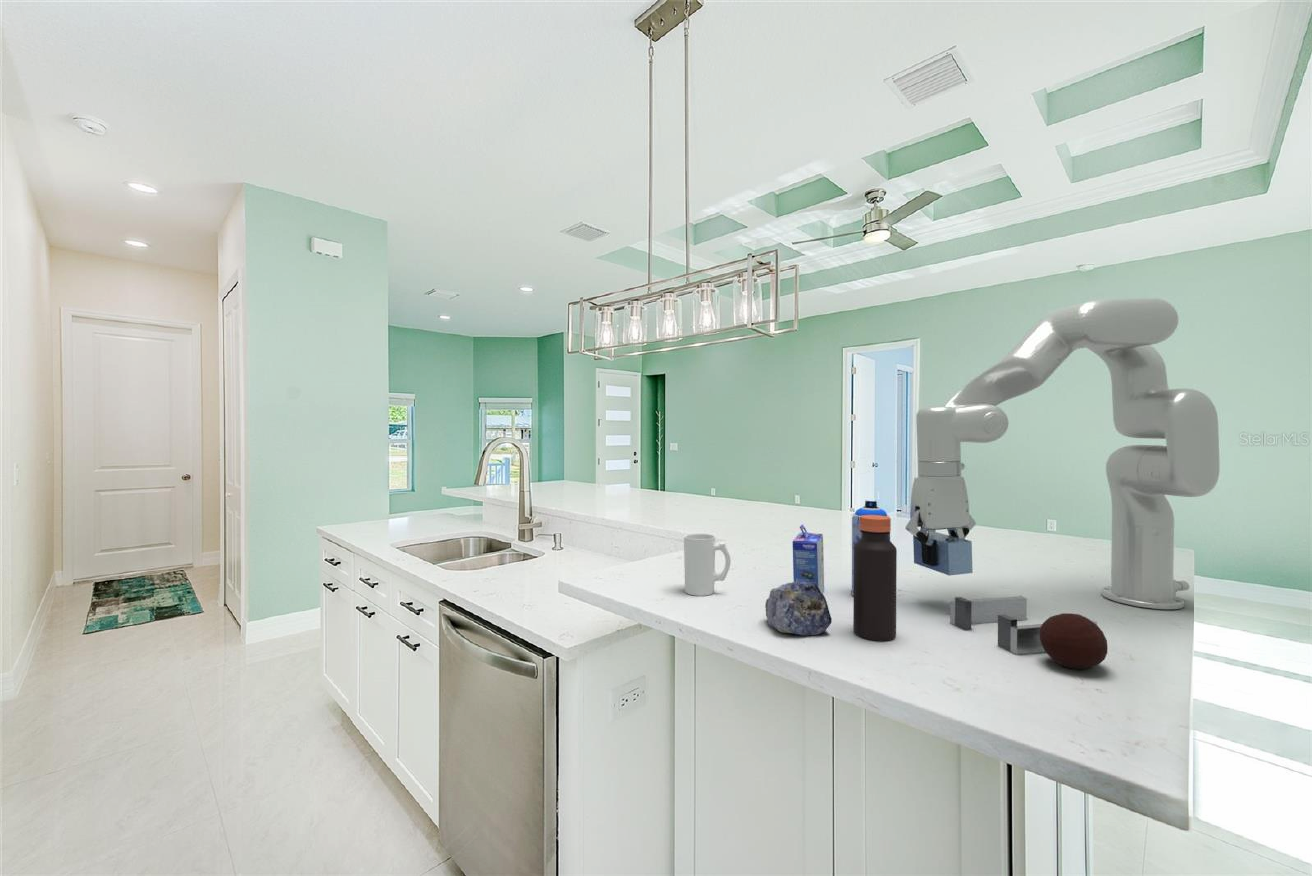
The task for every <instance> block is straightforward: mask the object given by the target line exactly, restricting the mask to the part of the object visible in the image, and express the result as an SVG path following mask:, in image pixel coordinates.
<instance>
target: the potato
mask: <svg viewBox="0 0 1312 876" xmlns="http://www.w3.org/2000/svg"><path fill="white" fill-rule="evenodd" d="M1092 621H1093V620H1091V619H1089V618H1088V617H1086V616H1084V615H1081V614H1080V613H1070V612H1069V613H1067V612H1066V613H1059V614H1055V615H1052V616H1049V617H1048V618H1047V619H1046V620H1045V621H1044V622H1042V623H1041V624H1042V625H1041V628H1040V631H1039V635H1040V641H1041V644H1042V646H1043V648H1044V650H1045V652H1044V653H1046V654H1047V655H1048V656H1049V657H1050V659H1052V660H1053V661H1055V662H1056V663H1058V664H1060V665H1062V666H1065V667H1067V668H1070V669H1075V670H1076V669H1077V670H1089V669H1092V668H1094V667H1096V666H1098V665H1100V664H1101V663H1103V662H1104V661H1105V659H1106V657H1107V655H1108V650H1109V649H1108V648H1109V647H1108V640H1107V638H1106V636H1105V632H1103V630H1102V629H1101V628H1100V627H1099V626H1098V624H1097V625H1096V624H1095V623H1094V622H1095V621H1094V622H1092Z"/></svg>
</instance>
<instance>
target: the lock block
mask: <svg viewBox="0 0 1312 876" xmlns="http://www.w3.org/2000/svg"><path fill="white" fill-rule="evenodd" d="M927 533H928V531H927ZM926 536H927V535H926ZM912 542H913V543H912V544H913V564H916V565H918V566H921V567H924V568H927V569H929V570H932V571H935V572H939V573H941V574H943V575H947V576H948V577H949V576H956V575H958V576H959V575H966V574H973V572H974V571H973V569H974V568H973V546H972V544H973V543H972V540H970V539H969V540H968V539H966V538H965V539H961V538H957V537H953V536H949V534H945V533H941V532H936V531H935V536H934V540H933V544H932V545H935V547H936V566H930V565H927V564H924V563H923V562H922V549H921V543H919V542H918V540H917V539H916V538H915V537H914V536H913V535H912Z"/></svg>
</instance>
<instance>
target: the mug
mask: <svg viewBox="0 0 1312 876" xmlns="http://www.w3.org/2000/svg"><path fill="white" fill-rule="evenodd" d="M716 551H720V552H721V553H723V555H724V559H725V564H724V568H723V570H722V571H721V572H720V573H718V572H716V570H715V567H716ZM683 552H684V553H683V557H684V559H683V561H684V562H683V563H684V589H685V590H684V592H685V593H686V594H687V593H688V595H690V596H696V597H706V596H711V595H713V594H714V593H715V583H716V582H718V581H720V582H723V581H725V580H726V578H727V576H728V572H729V571H730V567H731V555H730V552H729V549H728V547H727V543H726V542H720V543H718V544H717V543H716V535H713V534H708V533H688V534H685V535H684V536H683Z"/></svg>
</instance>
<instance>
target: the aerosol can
mask: <svg viewBox="0 0 1312 876" xmlns="http://www.w3.org/2000/svg"><path fill="white" fill-rule="evenodd" d="M863 515H879V516H886V517H890V515H889V514H888V513H887V512H886V511H885V510H884V509H883V508H881V507H879V506H878V502H877V500H865V502H864V505H863V506H862V507H860V508H858V509H856V511H855V512H854V513H852V516H851V591H850V596H852V597H853V598H854V544H855V543H856V542H857V541H858V540H859V539H860V538H861V537H862V533H861V532H860V516H863ZM889 532H890V534H889V535H888V539H889V540H890V541H891V531H889Z"/></svg>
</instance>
